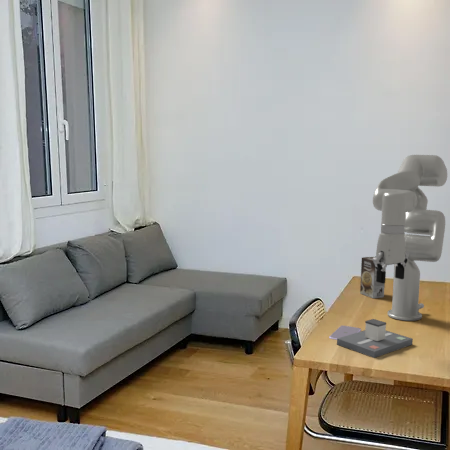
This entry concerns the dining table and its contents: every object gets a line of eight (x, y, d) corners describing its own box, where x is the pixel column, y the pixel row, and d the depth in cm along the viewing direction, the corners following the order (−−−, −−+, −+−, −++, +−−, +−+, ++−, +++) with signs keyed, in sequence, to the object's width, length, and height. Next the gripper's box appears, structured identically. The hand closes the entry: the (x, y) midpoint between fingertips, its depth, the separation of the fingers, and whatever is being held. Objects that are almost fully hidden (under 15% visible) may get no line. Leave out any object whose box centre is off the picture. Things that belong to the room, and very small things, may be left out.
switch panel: (375, 332, 207) (375, 326, 207) (412, 344, 195) (412, 338, 195) (336, 344, 195) (337, 338, 194) (374, 357, 183) (374, 351, 183)
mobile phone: (362, 327, 210) (350, 340, 197) (361, 330, 210) (350, 343, 197) (341, 324, 214) (328, 336, 201) (341, 327, 214) (327, 339, 201)
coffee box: (359, 293, 259) (360, 257, 257) (371, 292, 262) (372, 256, 260) (372, 298, 251) (374, 261, 249) (384, 297, 254) (386, 260, 252)
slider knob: (372, 334, 198) (373, 318, 197) (385, 338, 194) (386, 322, 193) (364, 337, 195) (365, 321, 195) (377, 341, 191) (378, 325, 191)
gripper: (399, 226, 202) (397, 274, 205) (366, 230, 192) (364, 281, 195) (418, 228, 197) (415, 279, 199) (385, 233, 186) (382, 286, 189)
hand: (390, 280), depth 197 cm, fingers open, 9 cm apart
